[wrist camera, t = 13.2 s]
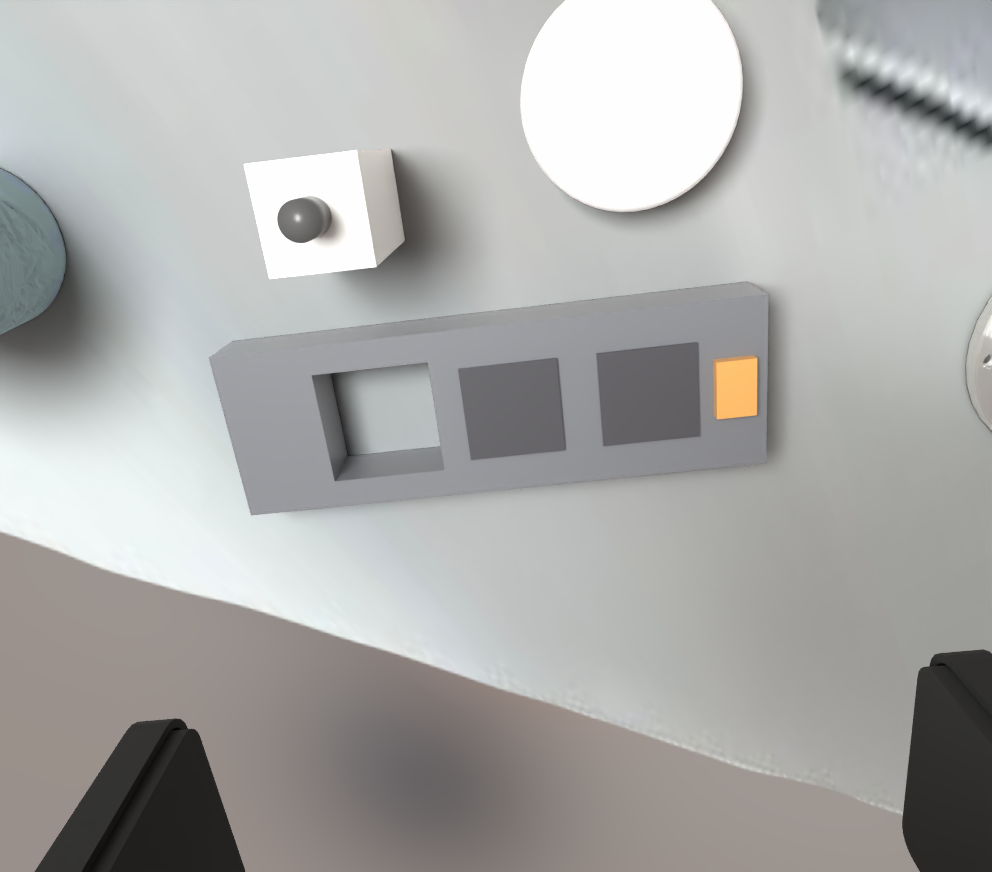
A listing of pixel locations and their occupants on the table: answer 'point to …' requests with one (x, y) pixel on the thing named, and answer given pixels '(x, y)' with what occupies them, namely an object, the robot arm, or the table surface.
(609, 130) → the coaster
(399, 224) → the charger
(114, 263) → the table surface
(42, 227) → the blue-grey tapered cup
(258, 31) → the table surface
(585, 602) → the table surface
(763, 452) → the power strip
